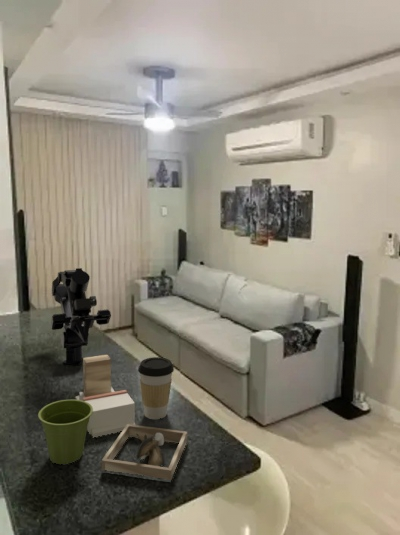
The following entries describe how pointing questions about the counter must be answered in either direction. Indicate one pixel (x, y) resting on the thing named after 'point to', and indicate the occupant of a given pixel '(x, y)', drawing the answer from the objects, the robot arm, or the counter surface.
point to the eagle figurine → (151, 449)
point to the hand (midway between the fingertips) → (85, 342)
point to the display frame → (144, 468)
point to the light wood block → (97, 375)
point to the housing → (109, 412)
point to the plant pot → (65, 429)
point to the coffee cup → (155, 386)
